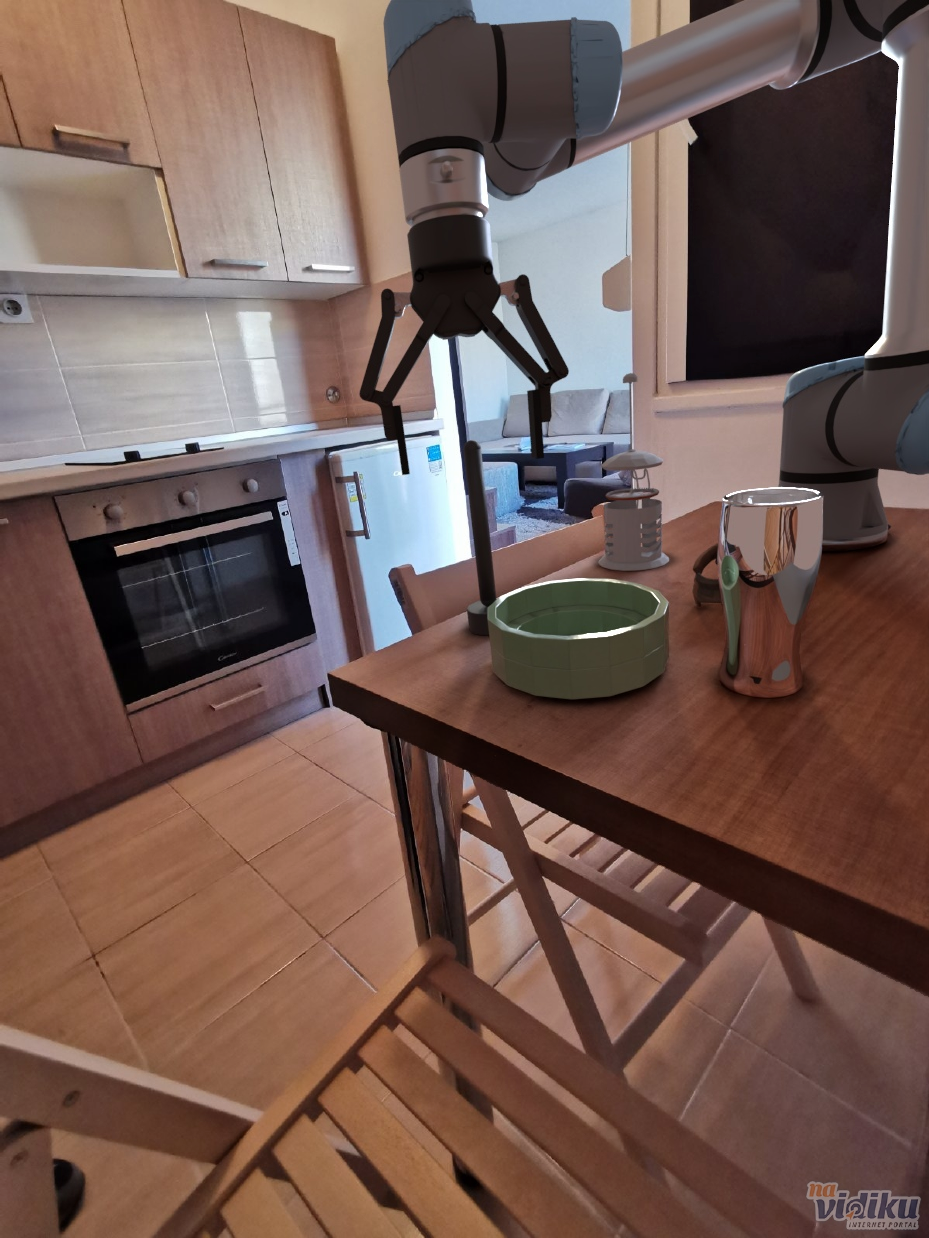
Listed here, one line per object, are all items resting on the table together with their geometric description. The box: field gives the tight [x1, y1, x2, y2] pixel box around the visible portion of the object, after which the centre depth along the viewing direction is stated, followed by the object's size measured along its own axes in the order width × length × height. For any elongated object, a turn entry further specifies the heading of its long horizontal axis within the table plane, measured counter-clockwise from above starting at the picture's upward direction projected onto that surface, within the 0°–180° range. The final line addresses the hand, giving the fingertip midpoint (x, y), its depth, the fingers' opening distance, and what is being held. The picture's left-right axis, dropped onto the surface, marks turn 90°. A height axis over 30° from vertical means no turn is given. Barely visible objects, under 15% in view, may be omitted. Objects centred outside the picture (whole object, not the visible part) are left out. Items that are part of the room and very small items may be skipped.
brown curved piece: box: [692, 542, 722, 609], centre depth 64 cm, size 12×9×8 cm
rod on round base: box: [463, 439, 498, 636], centre depth 63 cm, size 5×5×20 cm
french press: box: [597, 372, 670, 572], centre depth 81 cm, size 10×12×25 cm
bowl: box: [488, 577, 670, 700], centre depth 53 cm, size 16×16×6 cm
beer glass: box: [716, 487, 824, 699], centre depth 45 cm, size 7×7×15 cm
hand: (472, 465), depth 60 cm, fingers open, 13 cm apart
